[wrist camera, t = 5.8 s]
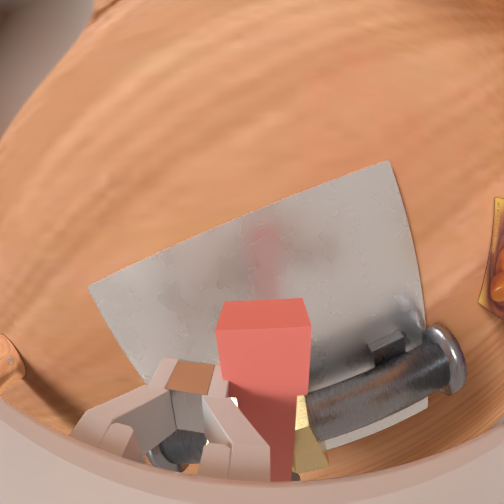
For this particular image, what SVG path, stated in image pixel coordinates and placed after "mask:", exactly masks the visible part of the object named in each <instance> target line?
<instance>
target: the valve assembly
mask: <svg viewBox="0 0 504 504" xmlns="http://www.w3.org/2000/svg"><path fill="white" fill-rule="evenodd" d="M87 288H88V290H89V292H90V294H91V295H92V297H93V299H94V301H95V303H96V305H97V307H98V309H99V311H100V312H101V314H102V316H103V318H104V320H105V321H106V323H107V325H108V326H109V328H110V330H111V332H112V333H113V335H114V337H115V338H116V340H117V341H118V343H119V345H120V346H121V348H122V349H123V351H124V352H125V354H126V356H127V357H128V359H129V360H130V362H131V363H132V365H133V366H134V367H135V369H136V370H137V372H138V373H139V375H140V376H141V377H142V379H143V380H144V382H145V383H146V384H147V385H149V383H150V381H151V379H152V378H153V376H154V374H155V372H156V370H157V368H158V367H159V365H160V363H161V361H162V359H163V358H165V357H169V358H176V359H182V360H188V361H195V362H201V363H208V364H220V361H219V354H218V348H217V341H216V334H215V328H216V325H217V322H218V319H219V316H220V313H221V311H222V308H223V305H224V302H225V301H251V300H273V299H291V298H303V301H304V304H305V307H306V310H307V313H308V316H309V320H310V323H311V350H310V368H309V383H308V395H299V396H297V407H296V424H295V439H294V452H293V464H292V471H293V472H295V473H297V474H298V473H303V472H307V471H311V470H315V469H319V468H323V467H326V466H330V465H329V460H328V455H327V450H329V449H332V448H335V447H338V446H341V445H344V444H347V443H350V442H353V441H356V440H358V439H361V438H364V437H366V436H369V435H371V434H374V433H376V432H378V431H381V430H383V429H385V428H388V427H390V426H392V425H394V424H396V423H399V422H401V421H403V420H405V419H407V418H409V417H411V416H413V415H415V414H417V413H419V412H420V411H422V410H424V409H426V408H428V396H430V395H432V394H434V393H435V392H437V391H439V390H440V391H441V392H442V393H444V394H445V395H448V396H450V395H452V394H454V393H455V392H457V391H459V390H460V389H462V388H463V386H464V385H465V382H466V364H465V359H464V356H463V353H462V350H461V348H460V345H459V343H458V342H457V340H456V338H455V337H454V335H453V334H452V333H451V331H450V330H449V329H448V328H447V327H445V326H444V325H442V324H440V323H436V324H434V325H432V326H430V327H429V328H427V329H426V321H425V311H424V303H423V295H422V288H421V282H420V276H419V270H418V265H417V259H416V254H415V250H414V245H413V240H412V236H411V232H410V228H409V224H408V220H407V216H406V212H405V209H404V205H403V202H402V198H401V195H400V192H399V189H398V185H397V182H396V179H395V176H394V173H393V170H392V167H391V165H390V162H389V160H385V161H382V162H379V163H376V164H373V165H370V166H367V167H365V168H362V169H359V170H356V171H353V172H351V173H348V174H345V175H342V176H340V177H337V178H334V179H332V180H329V181H326V182H324V183H321V184H318V185H316V186H313V187H311V188H308V189H305V190H303V191H300V192H298V193H295V194H293V195H290V196H288V197H285V198H283V199H280V200H278V201H275V202H273V203H270V204H268V205H265V206H263V207H260V208H258V209H255V210H253V211H251V212H248V213H246V214H243V215H241V216H239V217H236V218H234V219H231V220H229V221H227V222H224V223H222V224H220V225H217V226H215V227H213V228H210V229H208V230H206V231H204V232H201V233H199V234H197V235H194V236H192V237H190V238H188V239H185V240H183V241H181V242H179V243H176V244H174V245H172V246H170V247H168V248H165V249H163V250H161V251H159V252H157V253H155V254H152V255H150V256H148V257H146V258H144V259H142V260H140V261H137V262H135V263H133V264H131V265H129V266H127V267H125V268H123V269H121V270H119V271H116V272H114V273H112V274H110V275H108V276H106V277H104V278H102V279H100V280H98V281H96V282H94V283H92V284H91V285H89V286H88V287H87ZM231 399H232V400H233V402H234V403H235V404H236V406H237V399H236V398H231ZM237 407H238V406H237ZM208 443H209V442H208V440H207V438H206V436H205V433H200V432H194V431H188V430H182V429H176V431H175V432H173V433H172V434H171V435H170V436H168V437H167V438H166V439H164V440H163V441H162V442H161V443H159V444H158V445H157V446H155V447H154V448H153V449H151V450H150V451H149V452H147V453H146V455H147V457H148V459H149V461H150V462H151V463H152V465H153V466H154V467H158V468H162V469H167V470H171V471H176V472H183V471H184V470H185V469H186V468H187V467H188V465H189V464H199V463H200V461H201V456H202V452H203V448H204V445H206V444H208Z"/></svg>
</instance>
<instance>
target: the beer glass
mask: <svg viewBox="0 0 504 504" xmlns="http://www.w3.org/2000/svg"><path fill="white" fill-rule="evenodd" d="M25 373H26V371H25V366H24V363H23V361H22V358H21V356H20V355H19V353H18V351H17V350H16V348H15V347H14V345H13V344H12V343H11V342H10V340H9V339H8V338H7V337H5V336H4V335H2V334H0V396H1V394H2V393H3V392H4V390H5V389H6V388H7V387H8V386H9V385H11V384H12V383H14V382H15V381H17V380H19V379H21V378H22V377H24V376H25Z"/></svg>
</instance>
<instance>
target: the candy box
mask: <svg viewBox="0 0 504 504" xmlns="http://www.w3.org/2000/svg"><path fill="white" fill-rule="evenodd" d="M494 210H495V212H494V225H493V233H492V240H491V247H490V253H489V258H488V264H487V269H486V273H485V278H484V282H483V287H482V290H481V293H480V297H479V300H478V303H479V304H481V305H482V306H484V307H485V308H487V309H488V310H489V311H491V312H492V313H494V314H495V315H496V316H498V317H499V318H500V319H502V320H503V321H504V198H503V197H496V198H495V209H494Z"/></svg>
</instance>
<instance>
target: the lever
mask: <svg viewBox="0 0 504 504" xmlns="http://www.w3.org/2000/svg"><path fill="white" fill-rule="evenodd" d="M215 334H216V341H217V348H218V354H219V361H220V367H221V373H222V379H223V380H227V381H229V398H236V399H237V406H238V408H239V409H240V411H241V412H242V413H243V415H244V416H245V417H246V418H247V420H248V421H249V422H250V423H251V425H252V426H253V427H254V428H255V429H256V431H257V432H258V433H259V434H260V436H261V437H262V438H263V439H264V440H265V441H266V443H267V444H268V445H269V446H270V482H285V481H300V476H299V475H298V474H297V473H295V472H293V471H292V464H293V452H294V439H295V424H296V407H297V396H299V395H308V383H309V368H310V350H311V323H310V320H309V316H308V313H307V310H306V307H305V304H304V301H303V298H291V299H273V300H251V301H225V302H224V305H223V308H222V311H221V313H220V316H219V319H218V322H217V325H216V328H215Z"/></svg>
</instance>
